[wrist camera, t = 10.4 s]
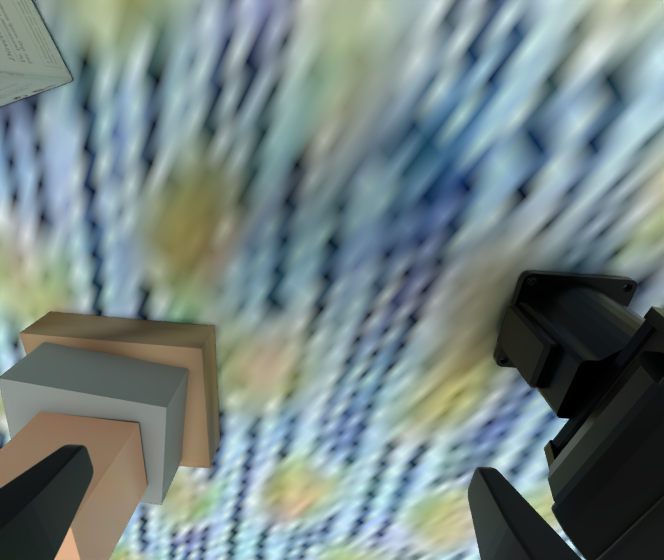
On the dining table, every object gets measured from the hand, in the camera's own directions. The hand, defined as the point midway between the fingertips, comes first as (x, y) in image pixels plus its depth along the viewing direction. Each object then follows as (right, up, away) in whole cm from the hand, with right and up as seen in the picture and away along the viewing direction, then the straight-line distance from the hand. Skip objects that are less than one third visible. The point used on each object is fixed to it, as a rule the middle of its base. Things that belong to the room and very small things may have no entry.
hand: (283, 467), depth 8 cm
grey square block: (-12, -3, +14) cm, 18 cm away
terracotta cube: (-12, -5, +11) cm, 17 cm away
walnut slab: (-12, -2, +16) cm, 20 cm away
